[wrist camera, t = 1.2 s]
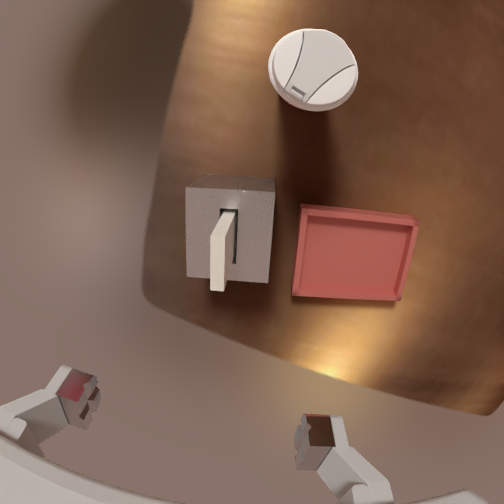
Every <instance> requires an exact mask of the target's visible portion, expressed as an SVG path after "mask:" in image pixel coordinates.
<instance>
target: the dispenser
mask: <svg viewBox="0 0 504 504" xmlns="http://www.w3.org/2000/svg"><path fill="white" fill-rule="evenodd" d="M274 204H275V178H263V177H248V176H230V175H208V174H204V175H202V176H201V177H199V178H198V179H197V180H195V181H194V182H192V183H191V184H190V185H188V186H187V187H186V261H187V277H198V278H209V279H210V236H211V234H212V232H213V230H214V229H215V227H216V225H217V223H218V221H219V219H220V218H221V216H222V214H223V212H224V211H225V209H238V231H237V248H236V251H235V254H234V258H233V261H232V265H231V268H230V272H229V275H228V279H227V280H233V281H246V282H259V283H268V277H269V266H270V254H271V242H272V229H273V217H274Z"/></svg>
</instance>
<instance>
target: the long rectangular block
mask: <svg viewBox="0 0 504 504" xmlns="http://www.w3.org/2000/svg"><path fill="white" fill-rule="evenodd" d="M237 231H238V209H225V211H224V212H223V214H222V216H221V218H220V219H219V221H218V223H217V225H216V227H215V229H214V230H213V232H212V234H211V236H210V290H213V291H224V289H225V286H226V282H227V279H228V275H229V272H230V268H231V265H232V261H233V258H234V254H235V251H236V248H237Z"/></svg>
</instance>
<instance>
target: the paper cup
mask: <svg viewBox="0 0 504 504" xmlns="http://www.w3.org/2000/svg"><path fill="white" fill-rule="evenodd" d="M268 71H269V77H270V79H271V82H272V84H273V86H274V88H275V90H276V91H277V92H278V94H279V95H280V96H281V97H282V99H283V100H284V101H285V102H286V103H288V104H289V105H291V106H293V107H296V108H301V109H303V110H308V111H325V110H330V109H333V108H335V107H337V106H339V105H341V104H342V103H344V102H345V101H346V100H347V99H348V98H349V97H350V96H351V94H352V93H353V91H354V89H355V87H356V84H357V79H358V68H357V63H356V60H355V57H354V55H353V53H352V51H351V50H350V49H349V47H348V46H347V45H346V43H345V42H344V40H343V39H341V38H340V37H339V36H337V35H336V34H334V33H332V32H329V31H327V30H321V29H301V30H297V31H294V32H291V33H289V34H287V35H286V36H284V37H283V38H282V39H280V40H279V41H278V43H277V44H276V45H275V46H274V48H273V50H272V52H271V54H270V57H269V62H268Z"/></svg>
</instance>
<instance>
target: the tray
mask: <svg viewBox="0 0 504 504" xmlns="http://www.w3.org/2000/svg"><path fill="white" fill-rule="evenodd" d="M419 223H420V221H419V220H418V219H417V218H415V217H414V216H412V215H404V214H396V213H388V212H379V211H371V210H362V209H352V208H343V207H332V206H322V205H311V204H300V211H299V220H298V230H297V239H296V248H295V257H294V266H293V274H292V282H291V292H292V296H307V297H324V298H342V299H364V300H389V301H400V300H401V297H402V293H403V290H404V286H405V282H406V279H407V275H408V271H409V267H410V263H411V259H412V255H413V250H414V246H415V242H416V237H417V232H418V227H419Z"/></svg>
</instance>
